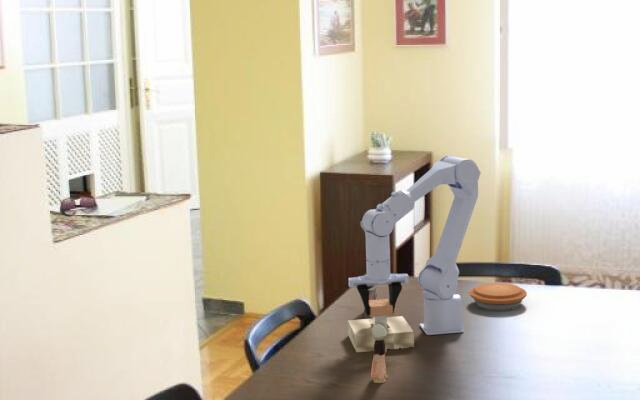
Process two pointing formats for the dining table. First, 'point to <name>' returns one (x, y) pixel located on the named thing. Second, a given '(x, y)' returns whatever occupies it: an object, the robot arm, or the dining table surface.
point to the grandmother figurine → (379, 354)
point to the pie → (498, 296)
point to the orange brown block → (380, 311)
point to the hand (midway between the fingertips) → (379, 313)
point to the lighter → (371, 295)
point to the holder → (395, 338)
